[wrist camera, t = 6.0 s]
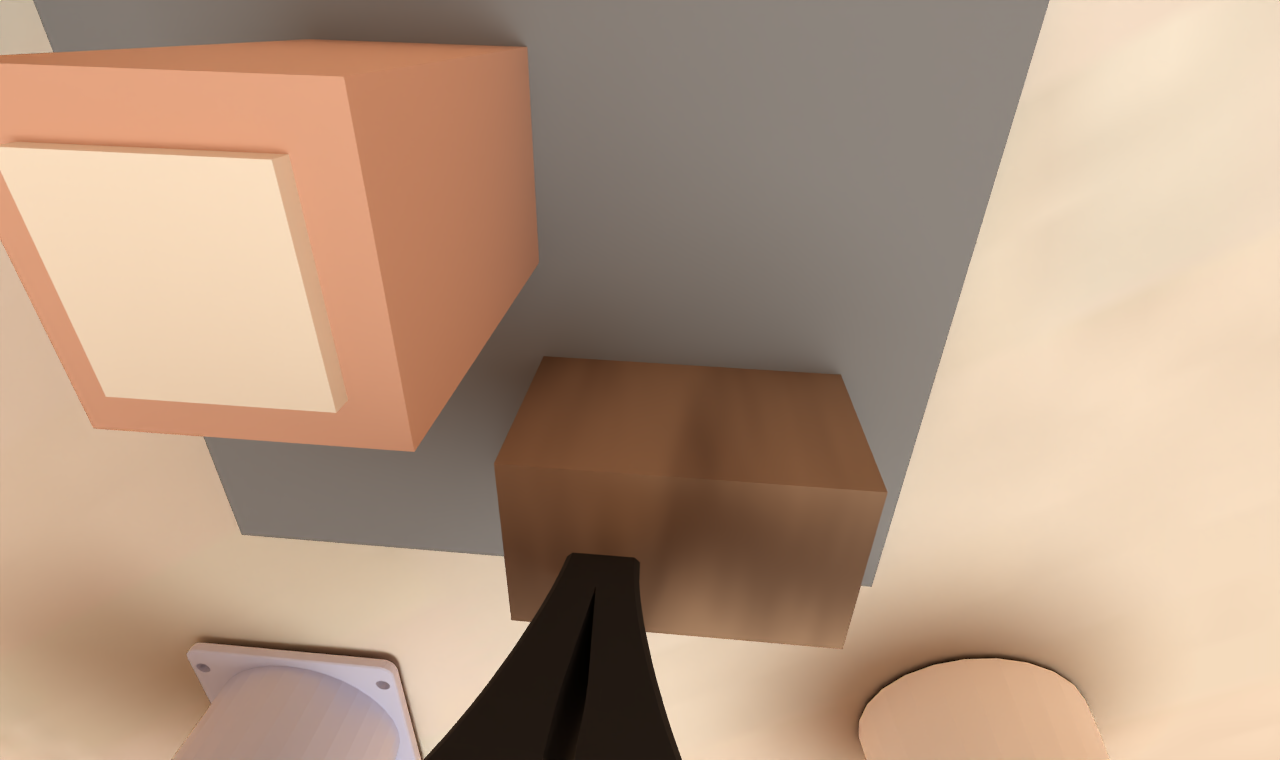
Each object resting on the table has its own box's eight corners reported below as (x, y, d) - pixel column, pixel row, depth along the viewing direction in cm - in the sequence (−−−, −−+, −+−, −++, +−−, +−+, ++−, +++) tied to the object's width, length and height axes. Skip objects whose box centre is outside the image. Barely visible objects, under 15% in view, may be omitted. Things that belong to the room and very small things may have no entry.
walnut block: (551, 492, 18) (822, 513, 18) (511, 620, 14) (855, 650, 14) (543, 356, 16) (853, 375, 16) (493, 463, 12) (903, 493, 12)
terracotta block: (539, 262, 15) (405, 465, 8) (354, 252, 15) (74, 441, 8) (527, 46, 13) (328, 79, 6) (310, 39, 13) (-122, 61, 6)
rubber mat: (868, 576, 19) (871, 586, 19) (249, 526, 21) (242, 534, 20) (1052, -44, 11) (1062, -45, 11) (24, -71, 13) (4, -73, 12)
